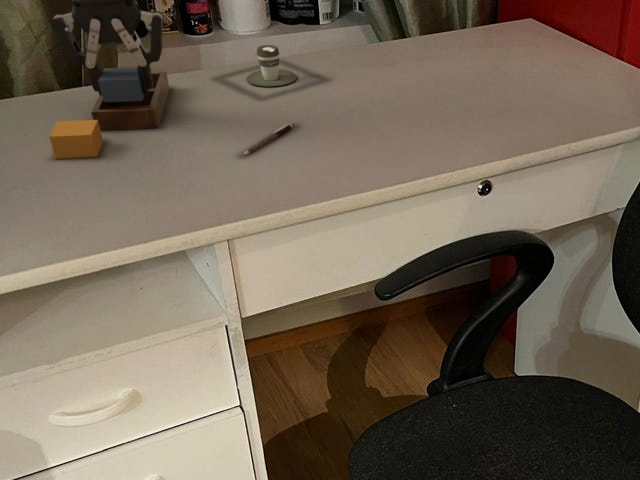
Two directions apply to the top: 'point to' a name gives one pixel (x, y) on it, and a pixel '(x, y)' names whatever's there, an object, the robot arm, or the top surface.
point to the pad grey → (120, 85)
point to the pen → (269, 138)
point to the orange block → (76, 139)
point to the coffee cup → (270, 69)
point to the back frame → (134, 108)
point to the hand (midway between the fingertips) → (124, 92)
